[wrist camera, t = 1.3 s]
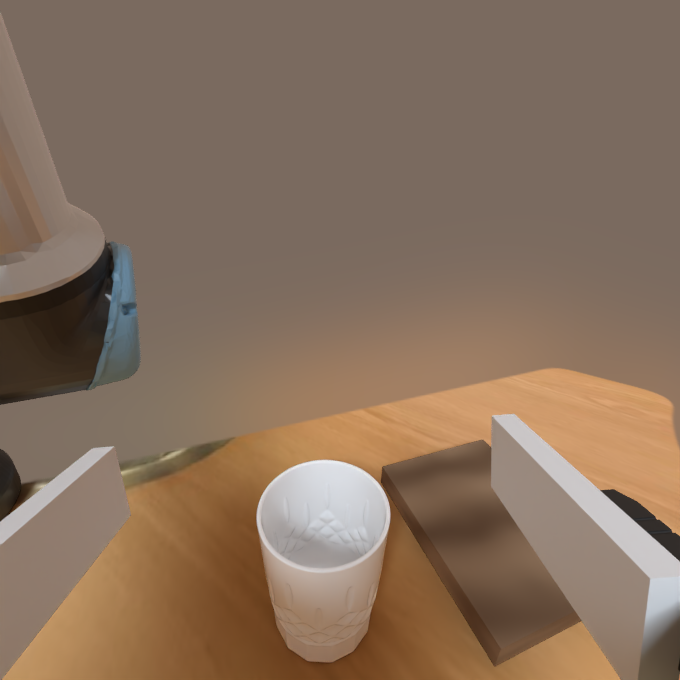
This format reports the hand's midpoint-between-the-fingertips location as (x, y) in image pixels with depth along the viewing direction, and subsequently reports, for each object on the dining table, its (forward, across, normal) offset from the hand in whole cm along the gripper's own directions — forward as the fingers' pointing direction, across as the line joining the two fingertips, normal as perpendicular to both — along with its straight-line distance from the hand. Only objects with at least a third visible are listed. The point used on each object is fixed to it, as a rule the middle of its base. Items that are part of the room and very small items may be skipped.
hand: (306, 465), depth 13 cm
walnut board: (+16, +12, -17) cm, 26 cm away
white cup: (+10, -1, -17) cm, 20 cm away
